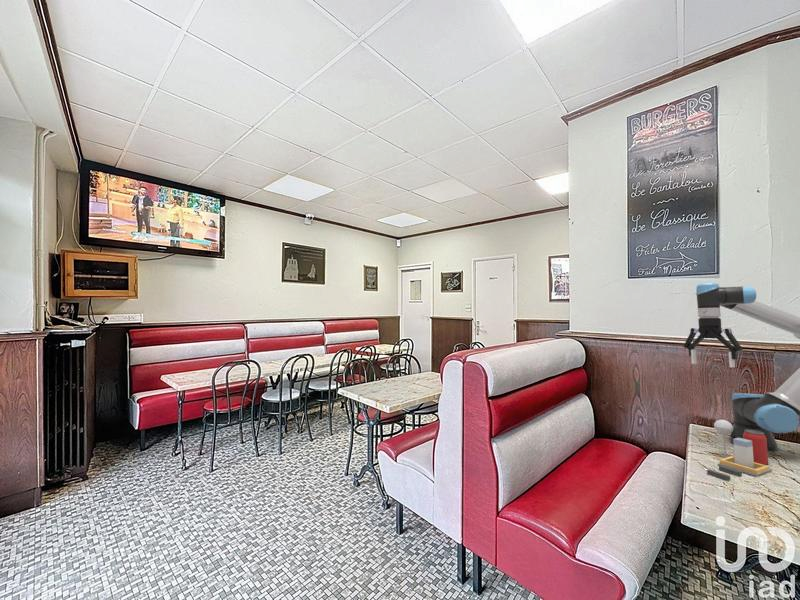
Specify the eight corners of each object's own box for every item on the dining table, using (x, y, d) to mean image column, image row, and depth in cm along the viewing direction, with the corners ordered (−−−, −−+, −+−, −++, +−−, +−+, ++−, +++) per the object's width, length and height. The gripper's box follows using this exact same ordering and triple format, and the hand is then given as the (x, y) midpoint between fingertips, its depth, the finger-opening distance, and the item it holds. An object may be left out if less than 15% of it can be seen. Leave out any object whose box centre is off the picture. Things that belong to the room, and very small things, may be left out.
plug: (740, 463, 133) (738, 437, 134) (754, 467, 130) (752, 440, 130) (735, 465, 132) (733, 439, 132) (749, 469, 128) (746, 442, 129)
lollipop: (731, 460, 138) (728, 422, 139) (713, 455, 143) (710, 419, 144) (738, 457, 141) (735, 420, 142) (719, 452, 146) (717, 417, 147)
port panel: (733, 460, 138) (733, 455, 138) (771, 471, 128) (771, 465, 128) (717, 465, 133) (717, 460, 133) (755, 477, 123) (755, 471, 123)
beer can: (773, 466, 132) (771, 434, 133) (753, 464, 134) (751, 433, 134) (759, 459, 139) (757, 429, 140) (740, 458, 140) (738, 428, 141)
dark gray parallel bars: (721, 469, 130) (720, 465, 130) (742, 476, 124) (741, 471, 124) (707, 474, 126) (707, 469, 126) (728, 480, 120) (727, 476, 120)
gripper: (672, 318, 163) (675, 362, 161) (741, 317, 140) (745, 369, 138) (682, 318, 166) (684, 362, 164) (750, 317, 143) (754, 368, 141)
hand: (712, 365), depth 151 cm, fingers open, 13 cm apart
